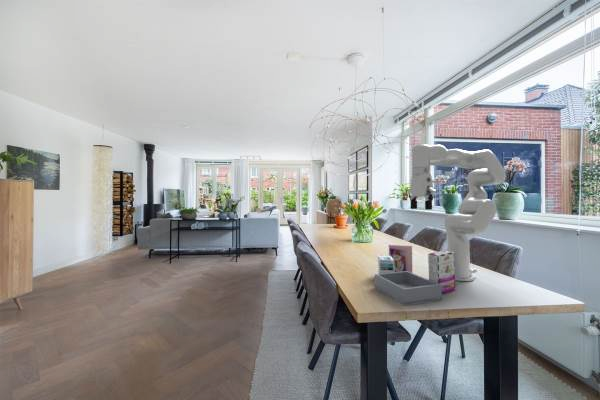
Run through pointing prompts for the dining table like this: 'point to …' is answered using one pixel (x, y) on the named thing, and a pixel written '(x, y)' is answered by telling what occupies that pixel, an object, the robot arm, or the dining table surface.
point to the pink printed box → (401, 257)
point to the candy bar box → (442, 269)
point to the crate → (408, 287)
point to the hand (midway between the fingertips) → (420, 209)
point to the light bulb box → (386, 264)
